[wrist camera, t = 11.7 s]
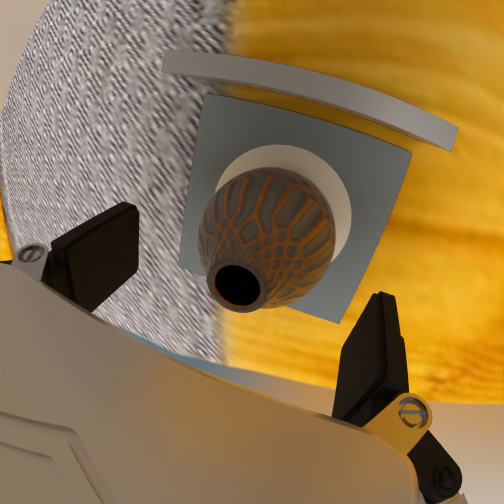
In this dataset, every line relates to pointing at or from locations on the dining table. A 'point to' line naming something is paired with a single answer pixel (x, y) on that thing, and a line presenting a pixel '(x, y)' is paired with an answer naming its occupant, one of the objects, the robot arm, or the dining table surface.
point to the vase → (265, 239)
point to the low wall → (314, 92)
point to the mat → (310, 166)
